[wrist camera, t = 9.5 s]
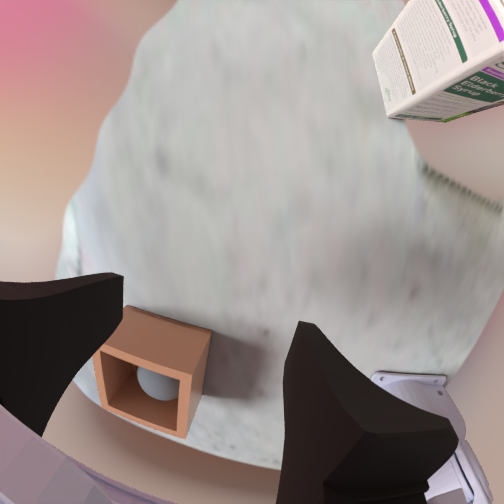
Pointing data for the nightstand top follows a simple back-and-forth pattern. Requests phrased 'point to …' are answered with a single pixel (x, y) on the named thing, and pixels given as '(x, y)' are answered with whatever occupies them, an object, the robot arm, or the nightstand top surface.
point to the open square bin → (152, 369)
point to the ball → (158, 384)
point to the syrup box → (442, 59)
